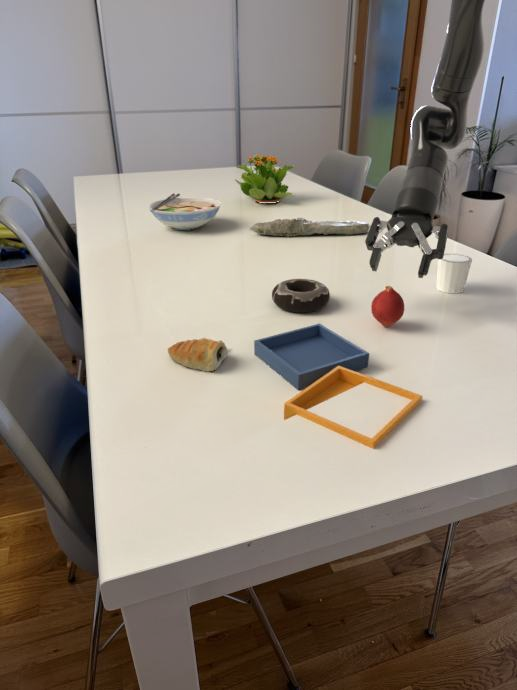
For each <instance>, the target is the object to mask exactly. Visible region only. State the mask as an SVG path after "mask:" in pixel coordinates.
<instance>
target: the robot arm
mask: <svg viewBox="0 0 517 690" xmlns="http://www.w3.org/2000/svg"><path fill="white" fill-rule="evenodd" d="M485 1H486V0H451V3H450V12H449V17H448V18H449V19H448V25H447V29H446V35H445V40H444V44H443V48H442V52H441V55H440V59H439V62H438V65H437V68H436V72H435V75H434V78H433V82H432V85H431V96H432V98H433V99H434V100H435V101H436V102H437V103H439V104H441V105H443V106H445V107H447V108H445V107H440V106H434V105H424V106H421V107H420V108H419V109H418V110H416V112H415V113H414V115H413V117H412V120H411V123H410V124H411V125H410V126H411V127H410V140H411V152H410V158H409V161H408V165H407V167H406V168H407V169H406V172H405V175H404V178H403V179H402V182H401V184H400V188H399V190H398V194H397V198H396V201H395V204H394V208H393V211H392V214H391V217H390V219H388V220H381V219H380V217H379V216H375V217H374V218H373V219H372V222H371V225H370V227H369V230H368V232H367V235H366V238H365V240H364V243H365V246H366V250H367V251H372V252H371V255H370V258H369V266H370V268H371V271H372V272H377V271H378V268H379V265H380V262H381V258H382V253H384V252H385V251H386V250H387V249H391V248H392V247H394V246H395V245H396V246H398V247H406V246H407V247H409V248H415V247H418V249H419V251H420V252H421V253H422V256H421V260H420V264H419V267H418V272H417V277H418V278H419V279H423V278H424V276H425V277H426V276H427V275H428V273H429V270H430V266H431V264H432V261H433V260H436V259H437V260H438V259H442V258H443V256H444V254H445V252H446V246H447V242H448V241H447V240H448V235H449V226H448V224H447V223H442V224H441V225H439V226H438V225H433V222H434V219H435V215H436V211H437V207H438V204H439V201H440V199H441V192H442V188H443V187H442V186H443V181H444V177H445V173H446V169H447V166H448V162H449V156H448V154H447V151H446V150H453V149H455V148H457V147H458V146H459V145H460V144H462V142H463V140H464V139H465V136H466V134H467V126H468V110H469V109H468V107H469V101H470V97H471V94H472V90H473V87H474V85H475V81H476V80H477V77H478V73H479V72H480V71H479V70H480V68H481V65H482V62H483V58H484V52H485V51H484V50H485V38H484V29H483V10H484V5H485ZM385 229H386V230H387V232H385V233H384V234H383V235H382V237H381V238H380V239H379V240H378V237H379V234H381V233H382V232H383V231H384V230H385ZM432 234H434V237H435V238H436V239H437V244H436V248H431V246H430V244H429V242H428V240H427V239H428V238H429V237H431V235H432Z"/></svg>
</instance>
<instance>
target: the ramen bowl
mask: <svg viewBox="0 0 517 690" xmlns="http://www.w3.org/2000/svg"><path fill="white" fill-rule="evenodd" d="M221 205H222V202H221V201H220V200H218V199H216V198H215V199H214V198H208V197H197V196H196V197H195V196H191V197H181V194H180V193H177V194H176V193H171V194H170V195H169V196H168V197H166V198H165V199H160V200H156V201H153V202H150V203H149V204H148V205H147V208H148V209H149V211H150V213H151V214H152V215H153V216H154V217H155V219H157V220H158V221H159V223H161V224H163V225H165V226H168V227H171V228H174V229H176V230H178V231H192V230H196V229H198V228H199V227H202V226H203V225H205V224H207V223H209V222H211V221H212V220H213V219H214V218H216V215H217V214H218V212H219V210H220V208H221ZM195 228H196V229H195ZM191 229H192V230H191Z"/></svg>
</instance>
